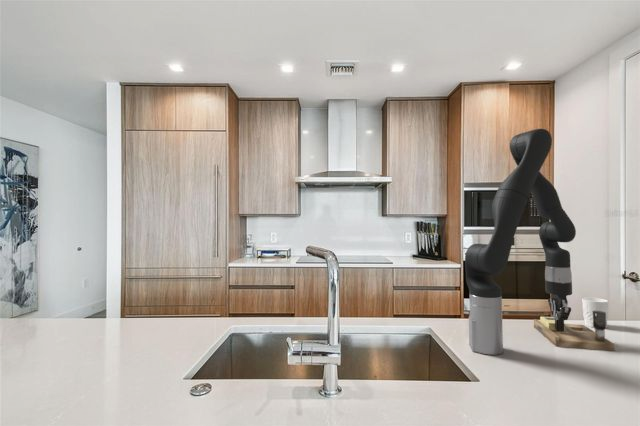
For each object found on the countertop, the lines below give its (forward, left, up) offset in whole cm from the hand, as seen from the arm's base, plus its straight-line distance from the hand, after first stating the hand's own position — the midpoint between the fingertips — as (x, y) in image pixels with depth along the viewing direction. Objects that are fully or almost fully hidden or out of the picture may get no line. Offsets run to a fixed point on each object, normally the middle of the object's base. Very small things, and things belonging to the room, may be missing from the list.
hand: (559, 330), depth 115 cm
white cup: (+19, +19, -3) cm, 27 cm away
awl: (+9, -5, -1) cm, 11 cm away
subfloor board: (+4, +2, -3) cm, 5 cm away
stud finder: (0, +6, -1) cm, 6 cm away
